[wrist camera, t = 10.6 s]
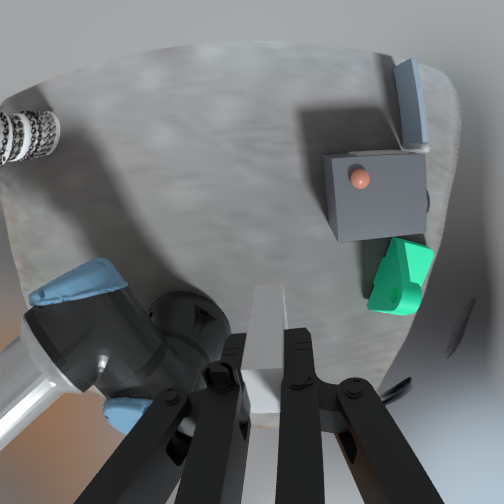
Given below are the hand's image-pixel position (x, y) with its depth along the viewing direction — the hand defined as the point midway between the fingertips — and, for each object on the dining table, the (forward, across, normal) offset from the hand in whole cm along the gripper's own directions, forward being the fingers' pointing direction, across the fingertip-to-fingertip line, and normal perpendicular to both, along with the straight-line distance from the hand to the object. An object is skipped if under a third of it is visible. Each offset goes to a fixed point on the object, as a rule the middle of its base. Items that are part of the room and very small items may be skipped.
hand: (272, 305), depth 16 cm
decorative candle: (+27, -38, +20) cm, 51 cm away
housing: (+26, +13, +1) cm, 29 cm away
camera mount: (+27, +18, -13) cm, 35 cm away
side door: (+26, +20, +12) cm, 35 cm away
